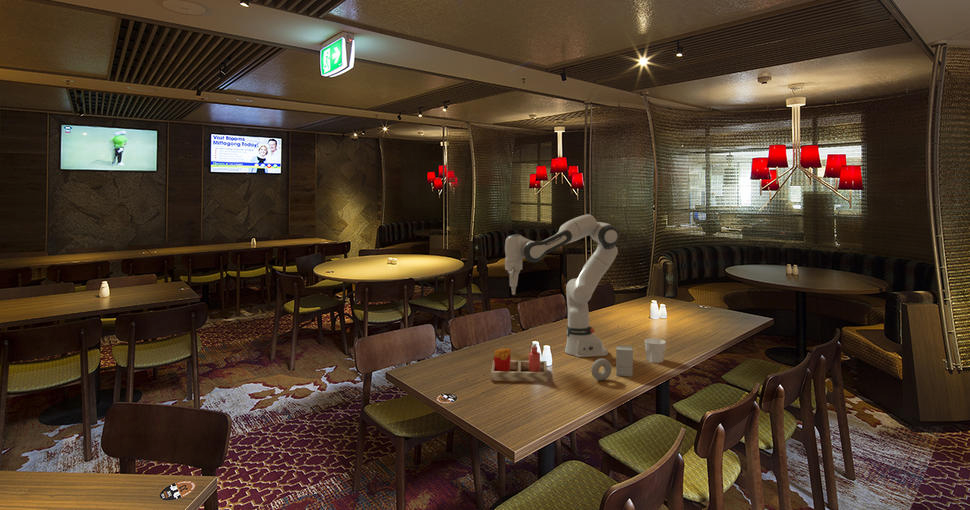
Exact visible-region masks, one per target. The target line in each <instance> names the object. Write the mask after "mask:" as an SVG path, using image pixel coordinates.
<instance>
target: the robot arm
mask: <svg viewBox="0 0 970 510" xmlns="http://www.w3.org/2000/svg"><path fill="white" fill-rule="evenodd" d="M619 233H620V232H619V230H618V228H616V227H615V226H614V225H611V224H610V223H608V222H603V221H597V219H596V218H595V217H594V216H593V215H592V214H587V213H586V214H583V215H580V216H577V217H574V218H572V219H569V220H567V221H566V222H564V223H563V224H561V225H560V227H559V229H558V231H557V233H555V234H554V235H552V236H550V237H548V238H546V239H544V240H542V241H534V240H531V239H528V238H526V237H524V236H523V235H521V234H517V233H516V234H511V235H508V236H507V237H506V239H505V243H504V253H505V259H504V269H505V271H507V273H508V274H509V287H510V288H511V295H513V296H515V295H516V290H517V286H518V282H519V281H518V280H519V274H520V273H521V270H522V271H523V259H525V260H527V261H528V262H530V263H538V262H539V261H541V260H542V259H543V258H544V257H546V255H547V254H548V253H550V252H552V251H554V250H556V249H557V248H560V247H562V246H564V245H568V244H571V243H573V242H576V241H578V240H579V241H580V240H581V239H584V238H585V237H588V236H589V238H590V239H591V240H592V241H594V242H596V243H597V247H596V249H595V251H594V252H593V253H592V255H591V256H590V257H589V258H588V259H587V261H586V262H585V263H584V265H583V267H582V269H581V271H580V273H579V275H578V277H577V278H572V279H570V280H569V281H567V283H566V286H565V287H566V288H565V290H566V293H565V294H566V305H567V306H566V307H567V326H566V337H567V338H566V342H565V343H566V345H565V348H564V353H566V354H568V355H571V356H575V357H578V358H587V357H588V358H590V357H606V356H608V354H609V353H608V350H607V348H605V347H604V343H603V341H602V340H601V338H599V337H598V335H596V334H594V332H595V328H593V327H592V326H591V325H590V321H589V320H590V316H589V315H590V312H589V303H588V302H589V301H590V300H591V299H592V296H593V294H594V292H595V290H596V288H597V286H598V284H599V282H600V281H601V279H602V277H604V275H605V274H606V273H607V271H608V270H609V269H610V267H611V265H612V264H613V263H614V261H615V259H616V257H617V255H618V251H619V250H618V249H619V248H618V247H617V245H618V241H619V238H620V234H619Z"/></svg>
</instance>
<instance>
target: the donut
mask: <svg viewBox="0 0 970 510" xmlns="http://www.w3.org/2000/svg"><path fill="white" fill-rule="evenodd" d="M601 367H603V370H602V372H600V368H601ZM590 369H591V372H590V373H591V375H592V376H593V378H594V379H595V380H597V381H605V380H607V379H608V378H609V377H610V376H611V373H612V365H611V362H610V361H609V360H608V359H606V358H598V359H596V360H595V361H594V362H593V363H592V365H591V368H590Z"/></svg>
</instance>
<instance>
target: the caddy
mask: <svg viewBox="0 0 970 510" xmlns="http://www.w3.org/2000/svg"><path fill="white" fill-rule="evenodd" d="M491 364H492V365H491V370H490V381H493V382H494V381H497V382H502V381H503V382H540V383H541V382H543V383H546V382H548V381H549V380H548V374H549V373H548V365H547V361H546V360H540V372H529V360H510V368H509V371H495V365H494V359H493V360H492V363H491ZM511 370H517V371H511ZM523 370H525V371H523ZM526 370H528V371H526Z"/></svg>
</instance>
